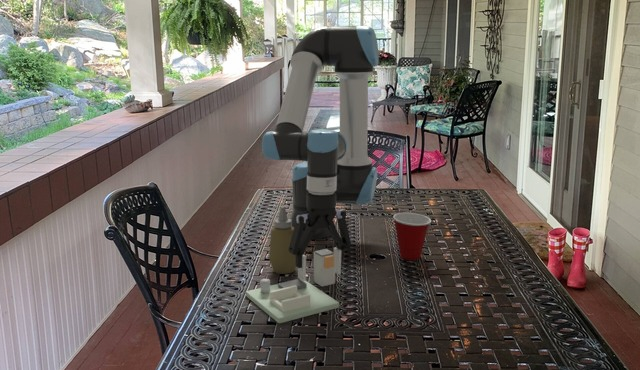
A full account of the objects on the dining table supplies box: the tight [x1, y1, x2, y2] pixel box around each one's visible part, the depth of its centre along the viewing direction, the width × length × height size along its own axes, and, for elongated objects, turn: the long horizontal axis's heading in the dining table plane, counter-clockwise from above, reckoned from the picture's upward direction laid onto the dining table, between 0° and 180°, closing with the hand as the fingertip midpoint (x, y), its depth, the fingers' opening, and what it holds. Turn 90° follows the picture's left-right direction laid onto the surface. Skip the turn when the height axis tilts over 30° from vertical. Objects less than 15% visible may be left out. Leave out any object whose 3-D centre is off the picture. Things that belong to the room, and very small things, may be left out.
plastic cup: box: [392, 212, 432, 261], centre depth 183 cm, size 11×11×12 cm
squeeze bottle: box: [268, 206, 297, 275], centre depth 173 cm, size 8×8×18 cm
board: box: [245, 278, 340, 324], centre depth 155 cm, size 18×16×4 cm
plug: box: [313, 248, 336, 287], centre depth 166 cm, size 5×4×8 cm
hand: (319, 275), depth 166 cm, fingers open, 10 cm apart
